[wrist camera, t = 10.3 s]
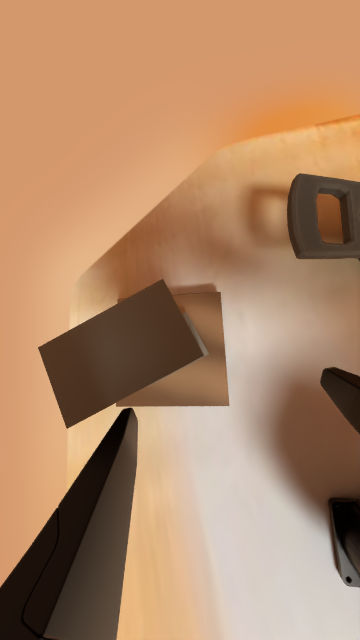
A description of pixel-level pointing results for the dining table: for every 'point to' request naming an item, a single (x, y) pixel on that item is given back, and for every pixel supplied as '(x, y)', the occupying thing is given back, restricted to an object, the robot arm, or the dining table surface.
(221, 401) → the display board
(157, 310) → the picture frame
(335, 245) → the zipper pull
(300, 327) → the dining table surface
